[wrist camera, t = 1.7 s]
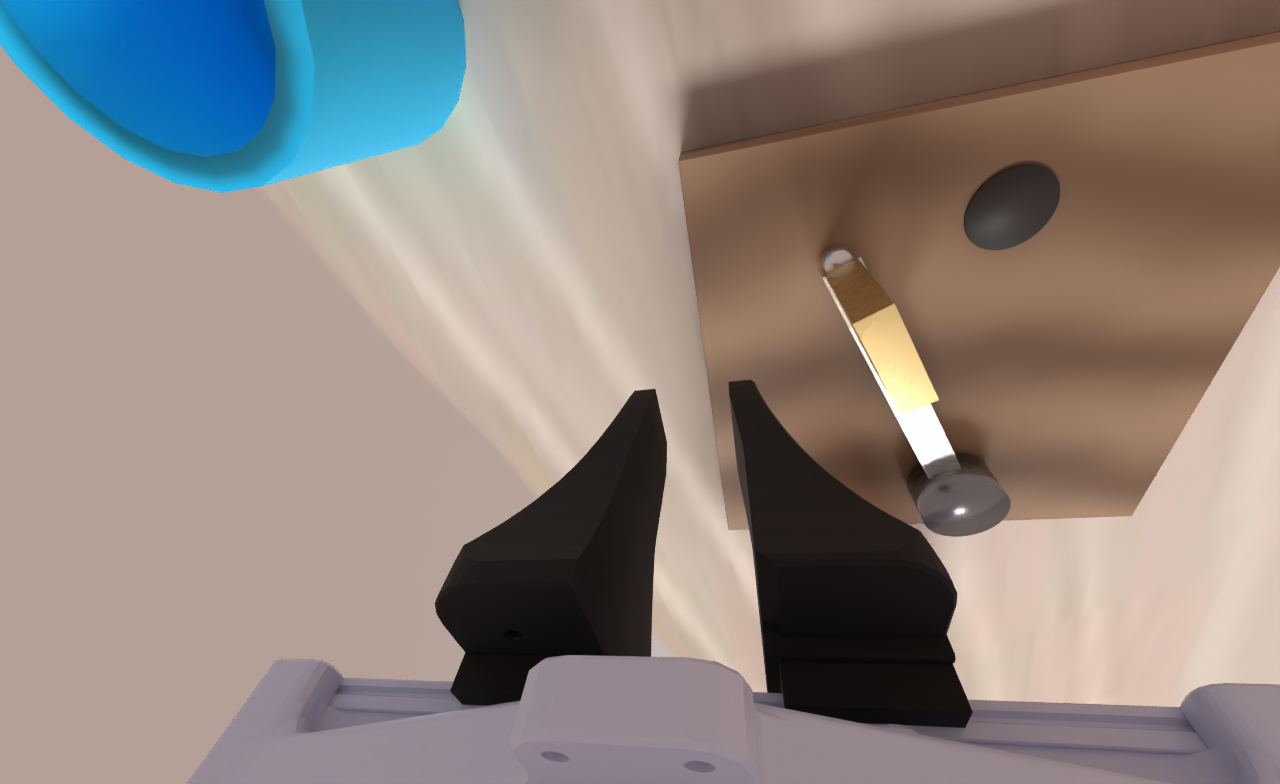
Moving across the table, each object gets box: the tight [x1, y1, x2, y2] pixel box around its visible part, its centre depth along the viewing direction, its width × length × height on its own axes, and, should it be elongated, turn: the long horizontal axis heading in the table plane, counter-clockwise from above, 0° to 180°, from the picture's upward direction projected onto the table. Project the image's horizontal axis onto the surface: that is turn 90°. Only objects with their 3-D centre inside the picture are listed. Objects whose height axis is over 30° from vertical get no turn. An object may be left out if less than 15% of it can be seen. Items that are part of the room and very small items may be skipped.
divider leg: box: [818, 245, 1011, 536], centre depth 18 cm, size 16×4×5 cm, turn 36°
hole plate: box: [679, 31, 1280, 530], centre depth 20 cm, size 20×20×2 cm
